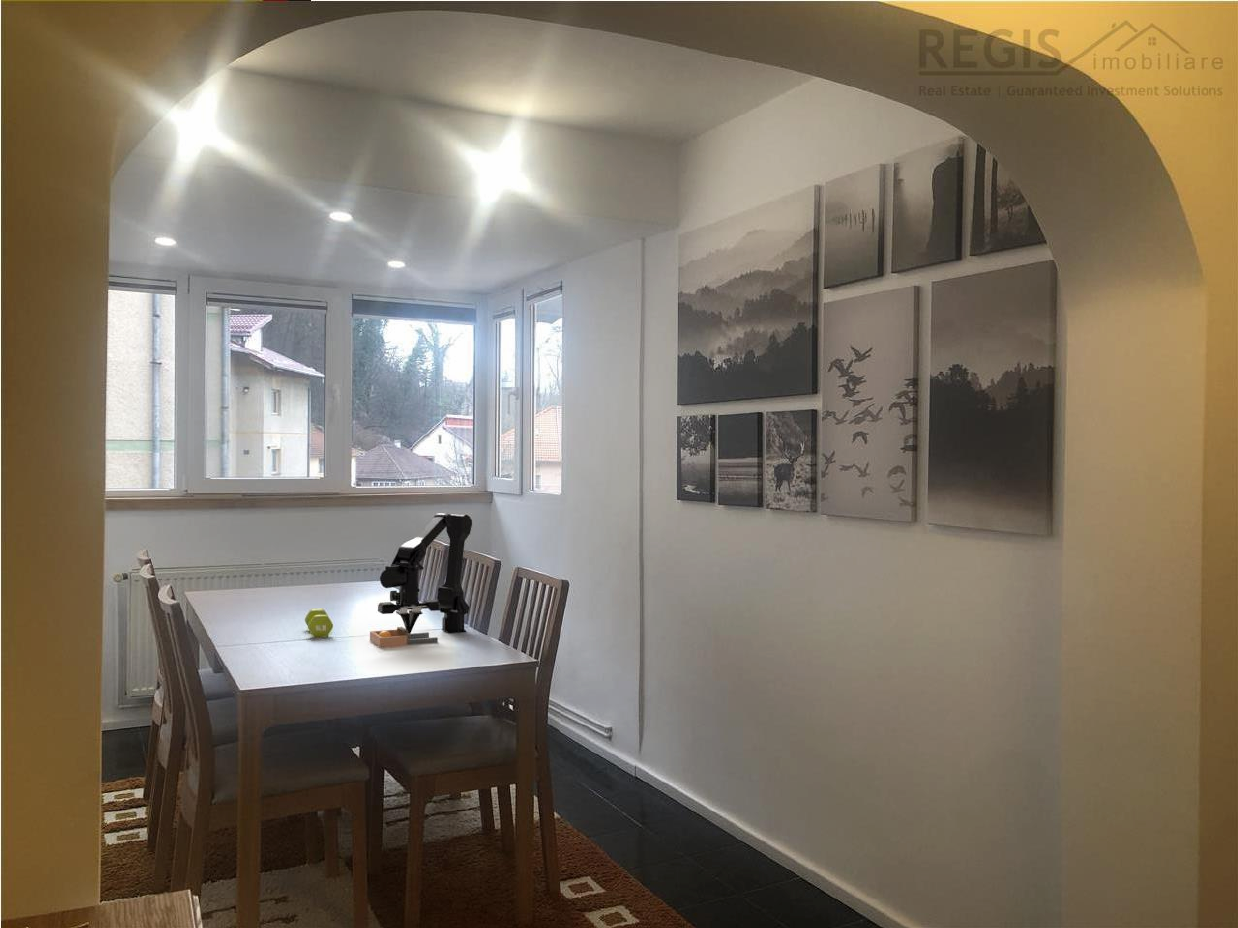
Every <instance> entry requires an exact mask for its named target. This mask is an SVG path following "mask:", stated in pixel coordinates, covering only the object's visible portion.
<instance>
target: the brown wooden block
mask: <svg viewBox="0 0 1238 928" xmlns="http://www.w3.org/2000/svg"><path fill="white" fill-rule="evenodd" d="M396 630H397V636H407V640H408V630H407V629H406V628H405V627H403V626H397V627H396Z"/></svg>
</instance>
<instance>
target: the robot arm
mask: <svg viewBox="0 0 1238 928" xmlns="http://www.w3.org/2000/svg"><path fill="white" fill-rule="evenodd" d="M472 526H473V520H472V517H471V516H470V515H468V514H462V513H461V514H458V513H457V514H456V513H452V514H449V513H444V512H443V513H442V512H439V513H436V514H435V515H434V516H433V518H432V520H431V521H429V523H428V524H427V525H426V526H425V527H424V528H423V529H422V530H421V531H420V532H419V534H417V535H416V536H415V537H414V538H412V539H411V540H408V541H405V542H404V543H402V545H400V547H398V549H397V553H396V555H395V556H394V558H393V561H392V563H391V564H390V565H386V566H385V568H384V569H385V570H383V571H382V573H380V577H379V581H380V584H381V586H382V587H383V588H384V589H392V588H397V587H398V588H399V589H398V591H397V590H390V592H389V602H379V603H378V605H377V612H379V613H380V614H382V615H388V614H389V615H390V614H391V615H392V614H394V613H396V615H399V616H400V618H401V619H402V622H403V625H404V628H405V629H407V630H408V634H412V631H413V628H414V626H415V623H416V622H417V620H418V619H419V617H420V615H423V612H422V610H423V609H428V610H429V611H430V612H433V611H434V612H435V611H436V612H437V611H440V613H442V614H443V616H442V619H441V621H442V623H441V624H442V627H441V630H442V631H444V632H446V633H448V634H452V633H465V632H467V630H466V629H465V616H466V615H467V614H469V612H470V606H469V604H468V603H467V602H466V600H465V597H464V596H465V595H464V589H463V587H462V585H461V578H462V577H461V576H462V569H463V559H464V551H465V550H464V549H465V542H466V540H467V539H468V537H469V536H470V535H471V531H472ZM444 530H446V534H447V536H448V538H449V546H448V554H447V555H448V556H447V564H446V573H445V579H444V581H445V582H444V583H443V585H442V586H438V588H437V596H436V599H424V600H423V602H420V601H419V600H420V599H419V598H420V597H419V593H420V590H421V589H420V588H419V587H420V583H419V582H420V579H419V578H420V571H423V570H424V569H425V568H424V566H423V565H421V562H422V560H424V557H425V556H426V554H427V549H428V548H429V547H430V545H431V544H432V543H433V542H434V540H435V539H437V537H438V536H439V535H440V534H441V533H443V531H444ZM393 602H395V603H393Z"/></svg>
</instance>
